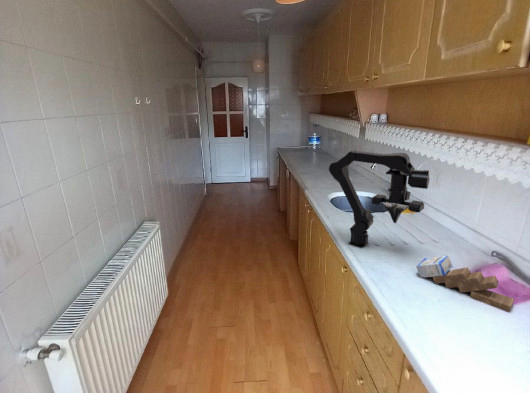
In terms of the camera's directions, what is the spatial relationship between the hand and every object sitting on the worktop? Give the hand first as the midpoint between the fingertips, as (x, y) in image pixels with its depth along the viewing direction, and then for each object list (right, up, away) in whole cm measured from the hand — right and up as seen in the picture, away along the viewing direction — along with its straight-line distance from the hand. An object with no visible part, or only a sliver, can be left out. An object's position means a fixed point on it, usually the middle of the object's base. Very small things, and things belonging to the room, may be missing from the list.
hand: (395, 222), depth 120 cm
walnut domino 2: (+10, -19, -19) cm, 28 cm away
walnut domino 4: (+14, -20, -25) cm, 35 cm away
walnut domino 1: (+7, -18, -17) cm, 26 cm away
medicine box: (+5, -15, -12) cm, 20 cm away
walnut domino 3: (+12, -19, -22) cm, 32 cm away
